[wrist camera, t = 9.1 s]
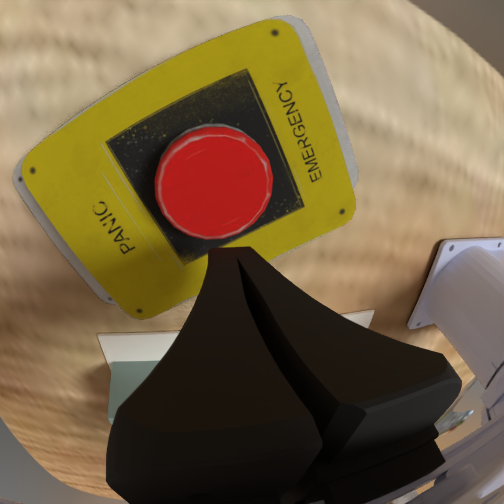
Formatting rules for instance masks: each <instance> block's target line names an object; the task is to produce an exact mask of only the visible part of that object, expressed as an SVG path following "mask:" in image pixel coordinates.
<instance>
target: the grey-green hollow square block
mask: <svg viewBox="0 0 504 504" xmlns="http://www.w3.org/2000/svg"><path fill="white" fill-rule="evenodd" d="M159 361H160V360H157V361H113V364H112V372H111V382H110V392H109V403H108V417H107V418H108V420H109V422H110V423H111V425H112V424H113V420H114V417H115V414H116V411H117V409H118V407H119V406H120V405H121V404H122V403H123V402H124V401H125V400H126V399H127V398H128V397H129V396H130V395H131V394H132V393H133V392H134V390H135V389H136V388H137V387H138V386H139V385H140V384H141V383H142V382H143V381H144V380H145V379H146V378H147V376H148V375H149V374H150V373H151V371H152V370H153V369H154V368H155V366H156V365H157V364H158V362H159Z"/></svg>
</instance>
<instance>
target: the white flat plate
mask: <svg viewBox="0 0 504 504" xmlns="http://www.w3.org/2000/svg"><path fill="white" fill-rule="evenodd" d="M374 312H375V311H374V309H373V310H366V311H360V312H354V313H347V314H340V315H342V316H343V317H345V318H347V319H349V320H351V321H353V322H355V323H357V324H359V325H361V326H363V327H365V328H368V327H369V325H370V322H371V320H372V317H373V315H374ZM179 332H180V331H166V332H143V333H100V334H98V339H99V341H100V344H101V347H102V350H103V352H104V355H105V358H106V360H107V363H108V365H109V368H110V370H111V372H112V364H113V361H157V360H161V359H162V357H163V356H164V355H165V353H166V352H167V351H168V349H169V348H170V346H171V345H172V343H173V342H174V340H175V339H176V337H177V335H178V334H179Z"/></svg>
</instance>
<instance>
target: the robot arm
mask: <svg viewBox="0 0 504 504" xmlns="http://www.w3.org/2000/svg"><path fill="white" fill-rule="evenodd" d="M431 324H435V325H436V326H437V327H438V328H439V330H440V331H441V332H442V333H443V334H444V336H445V337H446V338H447V339H448V341H449V342H450V343H451V344H452V346H453V347H454V348H455V350H456V351H457V352H458V353H459V355H460V356H461V357H462V359H463V360H464V361H465V363H466V364H467V365H468V367H469V368H470V369H471V371H472V372H473V373H474V375H475V376H476V377H477V379H478V380H479V381H480V383H481V384H482V385H483V387H484V388H485V391H484V393H483V394H482V395H481V396H480V398H481V399H482V401H483V402H484V406H483V407H482V411H481V427H480V428H478V429H477V430H475V431H474V432H472V433H471V434H469V435H467V436H466V437H464V438H463V439H461V440H460V441H458V442H456V443H454V444H452V445H451V446H449V447H447V448H446V449H444V450H442V451H440V450H439V448H438V446H437V444H436V442H435V441H434V439H436V438H437V437H438V435H439V433H438V431H437V429H436V428H435V426H434V423H435V422H436V421H437V420H438V419H439V418H440V417H441V416H442V415H443V414H444V412H445V411H446V410H447V409H448V408H449V407H450V406H451V404H452V403H453V402H454V401H455V399H456V398H457V397H458V395H459V393H460V390H461V387H462V380H461V379H460V377H459V376H458V374H457V373H456V372H455V370H454V369H453V367H452V366H451V365H450V363H449V362H448V361H447V359H446V358H445V356H444V355H443V354H441V353H438V352H434V351H430V350H427V349H423V348H420V347H416V346H413V345H409V344H406V343H403V342H400V341H398V340H395V339H392V338H389V337H387V336H384V335H382V334H379V333H377V332H374V331H372V330H370V329H368V328H365V327H363V326H361V325H359V324H357V323H355V322H353V321H351V320H349V319H347V318H345V317H343V316H342V315H340V314H338V313H336V312H334V311H333V310H331V309H330V308H328V307H326V306H325V305H323V304H321V303H320V302H318V301H317V300H315V299H314V298H312V297H311V296H309V295H308V294H306V293H305V292H304V291H302V290H301V289H300V288H298V287H297V286H296V285H294V284H293V283H292V282H291V281H289V280H288V279H287V278H286V277H284V276H283V275H282V274H281V273H280V272H278V271H277V270H276V269H275V268H274V267H273V266H272V265H270V264H269V263H268V262H267V261H266V260H265V259H264V258H263V257H262V256H260V255H259V254H258V253H257V252H256V251H255V250H254V249H253V248H252V247H250V246H245V247H222V248H211V249H210V250H209V251H208V265H207V270H206V274H205V277H204V280H203V284H202V287H201V289H200V292H199V294H198V297H197V299H196V301H195V304H194V306H193V308H192V310H191V312H190V314H189V316H188V318H187V320H186V322H185V324H184V325H183V327H182V329H181V331H180V332H179V334H178V335H177V337H176V339H175V340H174V342H173V343H172V345H171V346H170V348H169V349H168V351H167V352H166V353H165V355H164V356H163V357H162V359H161V360H160V361H159V362H158V364H157V365H156V366H155V368H154V369H153V370H152V371H151V373H150V374H149V375H148V376H147V378H146V379H145V380H144V381H143V382H142V383H141V384H140V385H139V386H138V387H137V388H136V389H135V390H134V392H133V393H132V394H131V395H130V396H129V397H128V398H127V399H126V400H125V401H124V402H123V403H122V404H121V405H120V406H119V407H118V409H117V411H116V414H115V417H114V420H113V424H112V427H111V431H110V435H109V440H108V446H107V453H106V482H107V483H108V485H109V486H110V487H111V488H112V489H113V490H114V491H115V492H116V493H117V494H118V495H120V496H121V497H122V498H123V499H124V500H126V501H127V502H128V503H129V504H387V503H389V502H391V501H393V500H395V499H398V498H400V497H402V496H404V495H406V494H408V493H410V492H412V491H414V490H416V489H418V488H420V487H422V486H423V485H425V484H427V483H429V482H431V481H433V480H434V479H436V480H435V482H434V486H433V487H431V488H430V489H428V490H426V491H425V492H423V493H421V494H419V495H418V496H416V497H415V498H413V499H412V500H410V501H408V502H407V503H405V504H504V237H500V238H475V239H451V240H444V241H443V242H442V243H441V244H440V247H439V249H438V252H437V255H436V258H435V260H434V263H433V265H432V268H431V271H430V273H429V276H428V278H427V281H426V283H425V286H424V288H423V290H422V293H421V295H420V297H419V300H418V302H417V304H416V306H415V309H414V311H413V313H412V315H411V317H410V319H409V322H408V324H407V326H408V328H409V329H410V330H411V329H416V328H420V327H424V326H427V325H431ZM0 504H22V503H19V502H16V501H12V500H9V499H6V498H3V497H0Z"/></svg>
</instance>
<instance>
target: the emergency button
mask: <svg viewBox="0 0 504 504" xmlns="http://www.w3.org/2000/svg"><path fill="white" fill-rule="evenodd" d="M13 181H14V184H15V187H16V190H17V191H18V193H19V194H20V196H21V197H22V199H23V200H24V202H25V203H26V205H27V206H28V208H29V209H30V211H31V212H32V214H33V215H34V217H35V218H36V219H37V221H38V222H39V224H40V225H41V226H42V228H43V229H44V231H45V232H46V233H47V235H48V236H49V237H50V239H51V240H52V241H53V243H54V244H55V245H56V247H57V248H58V249H59V250H60V252H61V253H62V254H63V256H64V257H65V258H66V259H67V261H68V262H69V263H70V264H71V266H72V267H73V268H74V269H75V270H76V272H77V273H78V274H79V275H80V276H81V278H82V279H83V280H84V281H85V282H86V284H87V285H88V286H89V287H90V288H91V289H92V290H93V292H94V293H95V294H96V295H97V296H98V297H99V298H100V299H101V300H102V301H104V302H105V303H107V304H113V305H118V306H119V307H120V308H121V309H122V310H123V311H124V312H125V313H126V314H127V315H129V316H130V317H132V318H135V319H140V320H143V319H149V318H152V317H154V316H156V315H158V314H160V313H162V312H164V311H167V310H169V309H171V308H173V307H175V306H177V305H179V304H182V303H184V302H186V301H188V300H190V299H192V298H194V297H196V296H198V294H199V292H200V289H201V287H202V284H203V280H204V277H205V274H206V270H207V265H208V251H209V250H210V249H211V248H222V247H245V246H250V247H252V248H253V249H254V250H255V251H256V252H257V253H258V254H259V255H260V256H262V257H263V258H264V259H265V260H266V261H267V262H270V261H272V260H274V259H276V258H278V257H280V256H282V255H284V254H286V253H288V252H290V251H292V250H294V249H296V248H298V247H300V246H302V245H305V244H307V243H309V242H311V241H313V240H315V239H317V238H319V237H321V236H323V235H325V234H327V233H329V232H331V231H333V230H335V229H337V228H339V227H341V226H343V225H345V224H346V223H347V222H348V221H349V220H351V219H352V217H353V215H354V213H355V210H356V198H355V195H354V191H353V188H354V187H355V185H356V183H357V181H358V167H357V163H356V160H355V156H354V153H353V149H352V146H351V142H350V139H349V136H348V132H347V129H346V126H345V123H344V120H343V116H342V113H341V110H340V107H339V104H338V101H337V99H336V96H335V93H334V90H333V87H332V84H331V82H330V79H329V76H328V73H327V71H326V68H325V66H324V63H323V60H322V58H321V55H320V53H319V50H318V48H317V45H316V43H315V41H314V38H313V36H312V33H311V31H310V29H309V27H308V26H307V25H306V24H305V22H304V21H303V20H302V19H299V18H297V17H294V16H292V15H286V16H276V17H273V18H270V19H266V20H262V21H259V22H256V23H253V24H250V25H248V26H245V27H242V28H239V29H237V30H234V31H231V32H229V33H226V34H224V35H221V36H219V37H216V38H214V39H211V40H209V41H207V42H204V43H202V44H200V45H197V46H195V47H193V48H191V49H189V50H186V51H184V52H182V53H180V54H178V55H176V56H174V57H172V58H170V59H168V60H166V61H164V62H162V63H160V64H158V65H156V66H154V67H152V68H151V69H149V70H147V71H145V72H143V73H141V74H140V75H138V76H136V77H134V78H133V79H131V80H129V81H127V82H126V83H124V84H122V85H121V86H119V87H118V88H116V89H114V90H113V91H111V92H109V93H108V94H106V95H105V96H103V97H102V98H100V99H99V100H97V101H96V102H94V103H93V104H91V105H90V106H88V107H87V108H85V109H84V110H82V111H81V112H80V113H78V114H77V115H75V116H74V117H73V118H71V119H70V120H69V121H67V122H66V123H65V124H63V125H62V126H61V127H59V128H58V129H57V130H55V131H54V132H53V133H52V134H50V135H49V136H48V137H47V138H45V139H44V140H43V141H42V142H40V143H39V144H38V145H37V146H36V147H34V148H33V149H32V150H31V151H30V152H29V153H28V154H27V155H26V156H25V157H23V158H22V159H21V160H20V162H19V163H18V164H17V166H16V167H15V169H14V175H13Z"/></svg>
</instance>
